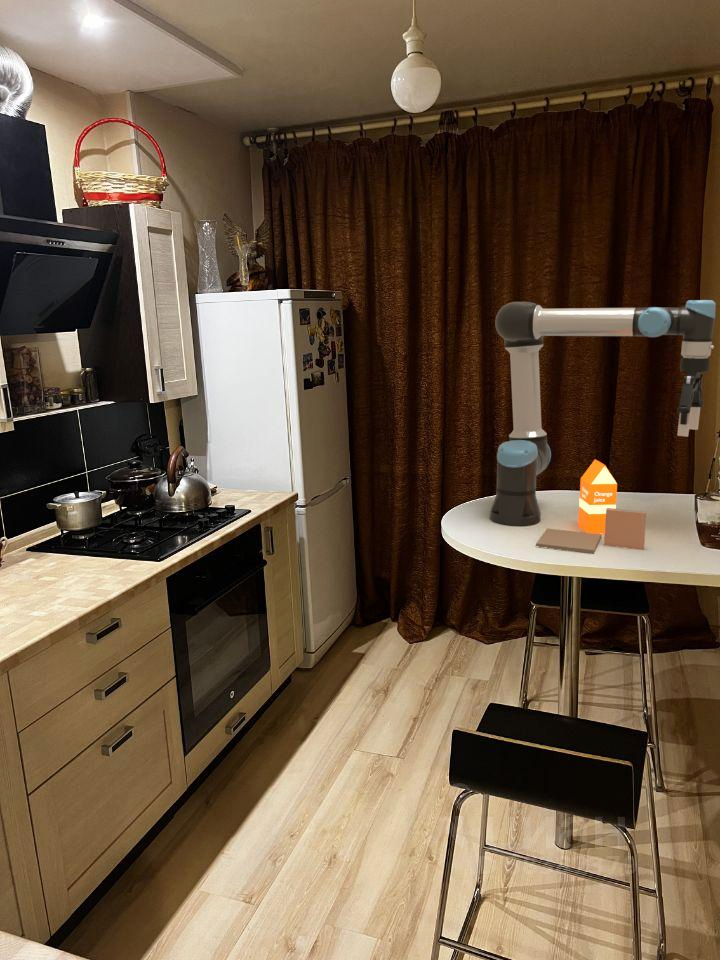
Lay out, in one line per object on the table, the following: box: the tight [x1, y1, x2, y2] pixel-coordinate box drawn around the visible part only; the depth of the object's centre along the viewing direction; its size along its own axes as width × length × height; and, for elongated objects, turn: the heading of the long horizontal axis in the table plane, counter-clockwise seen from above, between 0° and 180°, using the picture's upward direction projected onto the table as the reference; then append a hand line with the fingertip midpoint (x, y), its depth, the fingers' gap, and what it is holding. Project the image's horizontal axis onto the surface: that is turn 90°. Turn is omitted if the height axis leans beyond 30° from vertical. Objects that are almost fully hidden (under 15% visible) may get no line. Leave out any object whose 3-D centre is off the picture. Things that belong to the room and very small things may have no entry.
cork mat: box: [535, 528, 603, 555], centre depth 200 cm, size 15×15×1 cm
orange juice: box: [577, 459, 618, 535], centre depth 209 cm, size 8×9×20 cm
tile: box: [603, 508, 648, 551], centre depth 194 cm, size 10×2×10 cm, turn 65°
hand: (687, 432), depth 207 cm, fingers open, 13 cm apart
